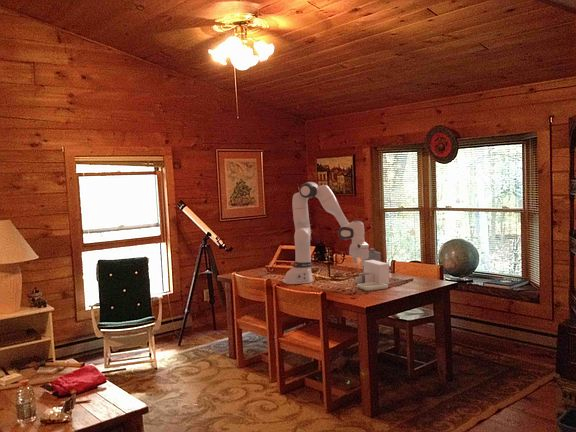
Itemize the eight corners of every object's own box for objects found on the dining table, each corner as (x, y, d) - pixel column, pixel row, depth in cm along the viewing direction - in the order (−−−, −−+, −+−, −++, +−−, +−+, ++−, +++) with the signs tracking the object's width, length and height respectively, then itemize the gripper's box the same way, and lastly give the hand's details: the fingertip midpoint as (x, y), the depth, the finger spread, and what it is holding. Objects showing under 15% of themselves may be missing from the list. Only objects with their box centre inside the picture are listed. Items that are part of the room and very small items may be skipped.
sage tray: (366, 291, 357) (366, 287, 356) (356, 287, 367) (356, 283, 367) (388, 288, 364) (388, 284, 363) (378, 285, 374) (378, 281, 374)
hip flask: (362, 273, 417) (362, 247, 415) (365, 272, 420) (365, 247, 418) (378, 276, 405) (378, 249, 404) (382, 275, 408) (382, 249, 406)
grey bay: (370, 285, 372) (370, 265, 371) (355, 280, 390) (355, 261, 389) (389, 283, 378) (389, 263, 377) (373, 278, 396) (373, 259, 395)
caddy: (357, 284, 377) (357, 276, 376) (354, 283, 381) (354, 275, 381) (371, 283, 381) (371, 274, 381) (367, 282, 386) (367, 273, 385)
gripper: (346, 243, 385) (347, 262, 387) (362, 246, 367) (362, 266, 368) (354, 242, 388) (354, 261, 389) (370, 245, 369) (370, 265, 371)
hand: (358, 263), depth 378 cm, fingers open, 8 cm apart
